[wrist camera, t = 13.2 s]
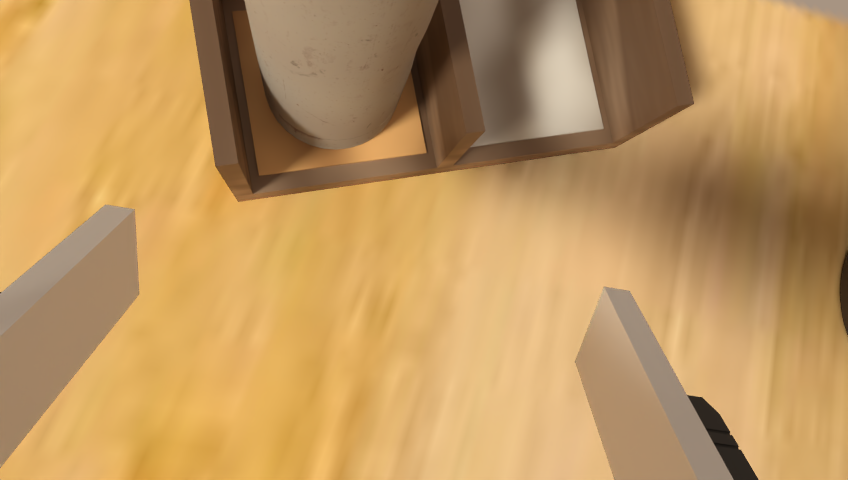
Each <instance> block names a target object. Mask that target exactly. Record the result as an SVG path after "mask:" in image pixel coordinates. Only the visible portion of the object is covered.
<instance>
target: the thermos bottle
mask: <svg viewBox="0 0 848 480" xmlns="http://www.w3.org/2000/svg"><path fill="white" fill-rule="evenodd" d="M244 1H245V5H246V10H247V14H248V19H249V23H250V28H251V32H252V37H253V41H254V46H255V50H256V55H257V59H258V64H259V68H260V73H261V77H262V82H263V86H264V91H265V96H266V98H267V101H268V104H269V107H270V109H271V111H272V113H273V114H274V116H275V118H276V120H277V121H278V122H279V123H280V124H281V125H282V126H283V128H284V129H285V130H286V131H287V132H289V133H290V134H291V135H293V136H294V137H295V138H297V139H299V140H301V141H303V142H305V143H307V144H309V145H312V146H315V147H319V148H323V149H335V150H336V149H346V148H351V147H355V146H358V145H361V144H363V143H365V142H367V141H369V140H370V139H372V138H374V137H375V136H376V135H377V134H378V133H380V132H381V131H382V130H383V129H384V127H385V126H386V125H387V124H388V122H389V121H390V119H391V117H392V115H393V113H394V111H395V109H396V107H397V104H398V102H399V99H400V97H401V94H402V92H403V89H404V86H405V84H406V81H407V79H408V76H409V74H410V71H411V68H412V65H413V61H414V57H415V54H416V51H417V48H418V46H419V44H420V42H421V40H422V38H423V36H424V34H425V32H426V30H427V28H428V26H429V23H430V21H431V18H432V16H433V13H434V11H435V8H436V6H437V3H438V1H439V0H244Z"/></svg>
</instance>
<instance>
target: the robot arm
mask: <svg viewBox="0 0 848 480" xmlns="http://www.w3.org/2000/svg"><path fill="white" fill-rule="evenodd" d="M840 294H841V309H842V316H843V320H844V325H845V328H846V332H847V335H848V254H847V256H846V259H845V263H844V267H843V271H842V277H841V292H840ZM138 295H139V280H138V261H137V242H136V224H135V209H129V208H123V207H117V206H111V205H104V206H103V207H102V208H101V209H100V210H99V211H97V212H96V213H95V214H94V215H93V216H91V217H90V218H89V219H88V220H87V221H85V222H84V223H83V224H82V225H81V226H80V227H78V228H77V229H76V230H75V231H74V232H72V233H71V234H70V235H69V236H68V237H67V238H65V239H64V240H63V241H62V242H61V243H59V244H58V245H57V246H56V247H55V248H54V249H52V250H51V251H50V252H49V253H48V254H46V255H45V256H44V257H43V258H42V259H41V260H39V261H38V262H37V263H36V264H35V265H33V266H32V267H31V268H30V269H29V270H28V271H26V272H25V273H24V274H23V275H22V276H20V277H19V278H18V279H17V280H16V281H14V282H13V283H12V284H11V285H10V286H9V287H7V288H6V289H5V290H4V291H3V292H0V468H1V466H2V465H3V464H4V463H5V461H6V460H7V459H8V458H9V456H10V455H11V454H12V453H13V451H14V450H15V449H16V448H17V446H18V445H19V444H20V443H21V441H22V440H23V439H24V438H25V436H26V435H27V434H28V433H29V431H30V430H31V429H32V428H33V426H34V425H35V424H36V423H37V421H38V420H39V419H40V418H41V416H42V415H43V414H44V413H45V411H46V410H47V409H48V408H49V406H50V405H51V404H52V403H53V401H54V400H55V399H56V398H57V396H58V395H59V394H60V393H61V391H62V390H63V389H64V388H65V386H66V385H67V384H68V383H69V381H70V380H71V379H72V378H73V376H74V375H75V374H76V373H77V371H78V370H79V369H80V368H81V366H82V365H83V364H84V363H85V361H86V360H87V359H88V358H89V356H90V355H91V354H92V353H93V351H94V350H95V349H96V348H97V346H98V345H99V344H100V343H101V341H102V340H103V339H104V338H105V336H106V335H107V334H108V333H109V331H110V330H111V329H112V328H113V326H114V325H115V324H116V323H117V321H118V320H119V319H120V318H121V316H122V315H123V314H124V313H125V311H126V310H127V309H128V308H129V306H130V305H131V304H132V303H133V301H134V300H135V299H136V298H137V296H138ZM575 363H576V366H577V369H578V372H579V375H580V378H581V381H582V384H583V387H584V390H585V393H586V396H587V399H588V402H589V405H590V408H591V411H592V414H593V417H594V420H595V423H596V426H597V429H598V432H599V435H600V438H601V441H602V444H603V447H604V449H605V452H606V455H607V458H608V461H609V464H610V467H611V470H612V473H613V476H614V479H615V480H758V478H757V476H756V475H755V473H754V471H753V470H752V468H751V466H750V465H749V463H748V461H747V459H746V458H745V456H744V454H743V453H742V451H741V450H739V449H738V444H737V443H736V441H735V439H734V438H733V436H732V435H730V431H729V429H728V428H727V426H726V424H725V423H724V421H723V419H722V418H721V416H720V414H719V413H718V412H717V411H716V410H715V409H714V408H713V407H712V406H711V405H709V404H708V403H707V402H706V401H705V400H704V399H703V398H702V397H696V396H689V395H687V394H686V392H685V391H684V389H683V387H682V385H681V383H680V382H679V380H678V378H677V376H676V374H675V372H674V371H673V369H672V367H671V365H670V363H669V362H668V360H667V358H666V356H665V354H664V352H663V351H662V349H661V347H660V345H659V343H658V342H657V340H656V338H655V336H654V334H653V332H652V331H651V329H650V327H649V325H648V323H647V322H646V320H645V318H644V316H643V314H642V313H641V311H640V309H639V307H638V305H637V303H636V302H635V300H634V298H633V296H632V294H631V293H630V291H627V290H621V289H615V288H608V287H604V288H603V291H602V293H601V296H600V298H599V301H598V303H597V306H596V309H595V311H594V314H593V316H592V319H591V321H590V324H589V327H588V329H587V332H586V334H585V337H584V339H583V342H582V345H581V347H580V350H579V352H578V355H577V358H576V360H575Z"/></svg>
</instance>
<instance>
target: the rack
mask: <svg viewBox="0 0 848 480" xmlns="http://www.w3.org/2000/svg"><path fill="white" fill-rule="evenodd" d="M190 7H191V13H192V20H193V26H194V32H195V39H196V45H197V51H198V58H199V64H200V71H201V77H202V83H203V90H204V96H205V102H206V109H207V115H208V122H209V128H210V134H211V141H212V147H213V153H214V160H215V166H216V168H217V169H218V171H219V173H220V174H221V176H222V177H223V179H224V180H225V182H226V183H227V185H228V187H229V188H230V190H231V191H232V193H233V194H234V196H235V197H236V199H237V201H238V202H239V201H246V200H253V199H260V198H267V197H274V196H281V195H288V194H295V193H302V192H309V191H316V190H323V189H330V188H337V187H343V186H350V185H357V184H364V183H371V182H378V181H385V180H392V179H399V178H406V177H413V176H420V175H427V174H434V173H441V172H448V171H454V170H461V169H468V168H475V167H482V166H489V165H496V164H503V163H510V162H517V161H524V160H531V159H538V158H545V157H552V156H559V155H565V154H572V153H579V152H586V151H593V150H600V149H607V148H614V147H616V146H618V145H620V144H622V143H624V142H626V141H627V140H629V139H631V138H633V137H635V136H636V135H638V134H640V133H642V132H644V131H645V130H647V129H649V128H651V127H653V126H655V125H656V124H658V123H660V122H662V121H664V120H665V119H667V118H669V117H671V116H673V115H674V114H676V113H678V112H680V111H682V110H684V109H685V108H687V107H689V106H691V105H693V104H694V101H693V97H692V93H691V88H690V84H689V80H688V76H687V71H686V67H685V63H684V59H683V54H682V50H681V46H680V42H679V37H678V33H677V29H676V25H675V20H674V16H673V12H672V8H671V3H670V0H439V1H438V3H437V6H436V8H435V11H434V13H433V16H432V18H431V21H430V23H429V26H428V28H427V30H426V32H425V34H424V36H423V38H422V40H421V42H420V44H419V46H418V48H417V51H416V54H415V57H414V61H413V65H412V68H411V71H410V74H409V76H408V79H407V81H406V84H405V86H404V89H403V92H402V94H401V97H400V99H399V102H398V104H397V107H396V109H395V111H394V113H393V115H392V117H391V119H390V121H389V122H388V124H387V125H386V126H385V127H384V129H383V130H382V131H381V132H380V133H378V134H377V135H376V136H375V137H374V138H372V139H370V140H369V141H367V142H365V143H363V144H361V145H358V146H355V147H351V148H346V149H336V150H335V149H323V148H319V147H315V146H312V145H309V144H307V143H305V142H303V141H301V140H299V139H297V138H295V137H294V136H293V135H291V134H290V133H289V132H287V131H286V130H285V129H284V128H283V126H282V125H281V124H280V123H279V122H278V121H277V120H276V118H275V116H274V114H273V113H272V111H271V109H270V107H269V104H268V101H267V98H266V96H265V91H264V86H263V82H262V77H261V73H260V68H259V64H258V59H257V55H256V50H255V46H254V41H253V37H252V32H251V28H250V23H249V19H248V14H247V10H246V5H245V1H244V0H190Z"/></svg>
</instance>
